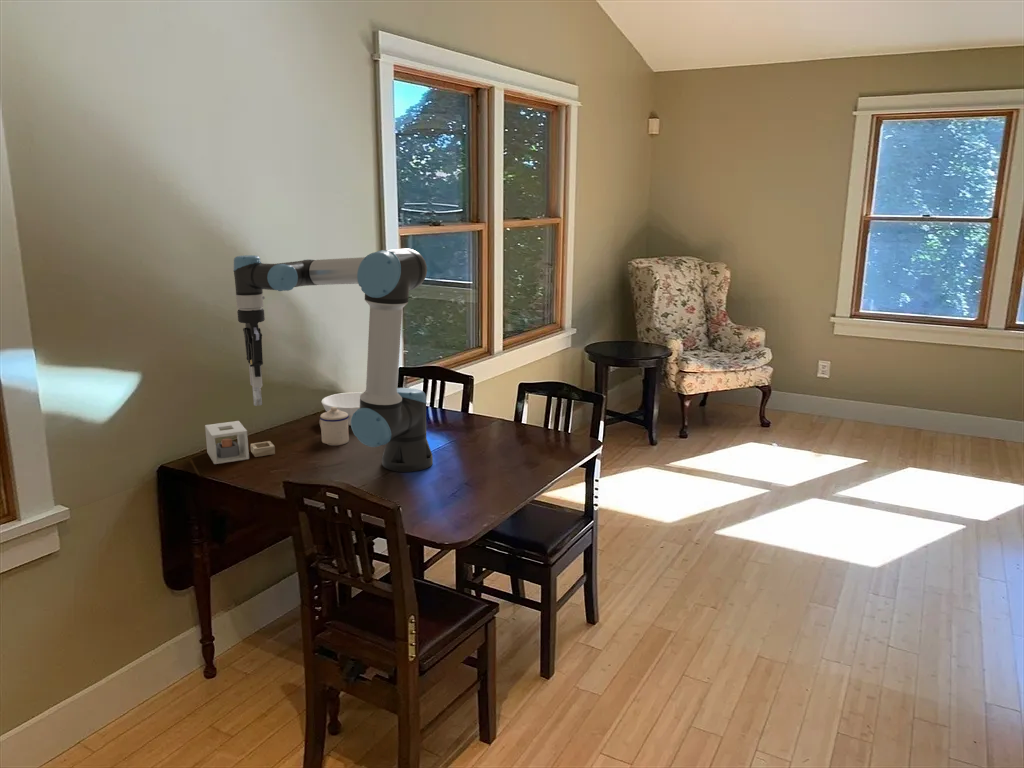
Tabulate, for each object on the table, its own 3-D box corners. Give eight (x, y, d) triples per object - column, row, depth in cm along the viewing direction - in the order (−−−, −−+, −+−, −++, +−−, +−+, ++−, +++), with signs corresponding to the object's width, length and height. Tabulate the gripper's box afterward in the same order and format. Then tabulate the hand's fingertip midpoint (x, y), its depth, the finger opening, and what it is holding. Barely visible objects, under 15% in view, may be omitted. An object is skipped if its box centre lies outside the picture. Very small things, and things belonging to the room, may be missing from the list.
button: (233, 452, 240) (232, 440, 239) (223, 454, 238) (222, 441, 237) (231, 450, 242) (230, 437, 241) (221, 451, 241) (220, 439, 240)
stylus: (263, 404, 239) (259, 359, 236) (254, 406, 238) (251, 360, 235) (261, 403, 241) (257, 358, 238) (252, 404, 240) (249, 359, 237)
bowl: (350, 434, 265) (349, 410, 263) (309, 422, 277) (308, 400, 275) (395, 420, 281) (394, 398, 279) (355, 410, 293) (354, 389, 291)
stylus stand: (275, 455, 243) (274, 446, 242) (255, 458, 240) (254, 449, 239) (270, 450, 248) (269, 440, 247) (250, 452, 245) (250, 443, 244)
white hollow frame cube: (249, 460, 238) (247, 430, 236) (214, 465, 233) (211, 435, 231) (240, 449, 248) (238, 420, 246) (207, 454, 243) (204, 425, 241)
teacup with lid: (355, 441, 257) (354, 407, 255) (332, 448, 251) (331, 412, 248) (332, 434, 265) (330, 400, 262) (309, 440, 258) (308, 406, 255)
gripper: (270, 310, 228) (275, 389, 234) (257, 304, 241) (263, 379, 247) (243, 312, 224) (249, 392, 230) (231, 306, 237) (238, 382, 243)
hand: (256, 385), depth 238 cm, fingers closed on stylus, 2 cm apart
